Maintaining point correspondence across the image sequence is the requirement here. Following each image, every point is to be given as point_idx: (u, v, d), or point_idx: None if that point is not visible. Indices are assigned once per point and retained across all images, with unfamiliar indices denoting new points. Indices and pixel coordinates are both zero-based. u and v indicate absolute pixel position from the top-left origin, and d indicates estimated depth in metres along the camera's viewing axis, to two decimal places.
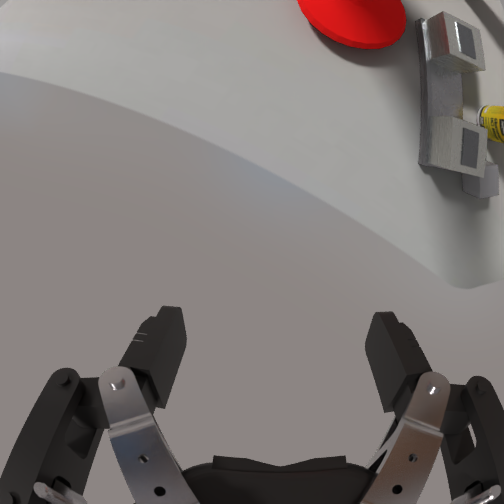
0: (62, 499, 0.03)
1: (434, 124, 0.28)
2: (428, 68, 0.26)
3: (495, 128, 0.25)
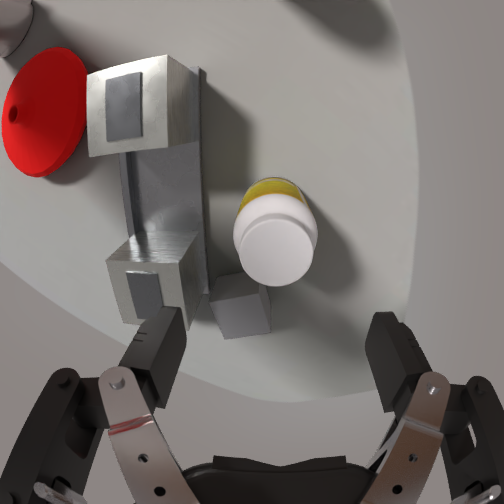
0: (62, 499, 0.03)
1: None
2: (122, 164, 0.24)
3: None
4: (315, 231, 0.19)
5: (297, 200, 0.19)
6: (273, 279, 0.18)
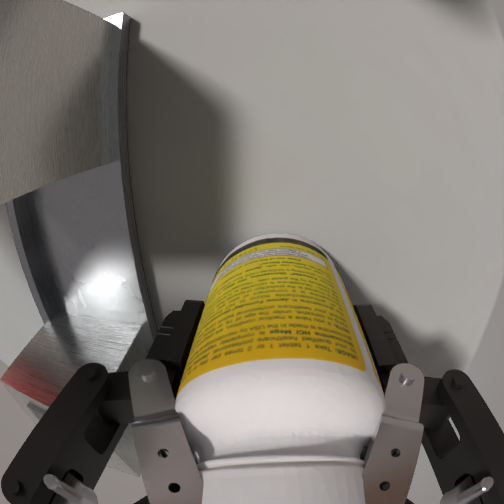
0: (71, 492, 0.04)
1: None
2: (10, 210, 0.11)
3: None
4: None
5: (352, 374, 0.05)
6: None
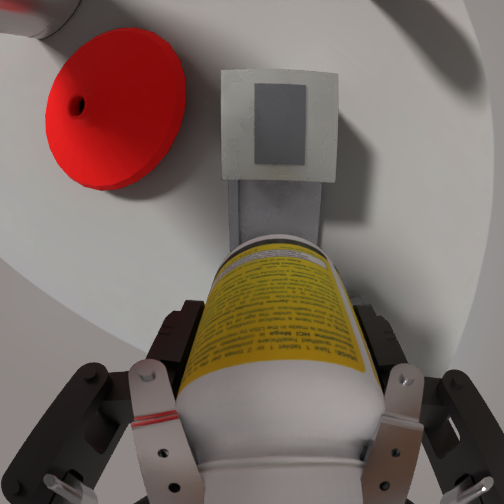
0: (71, 492, 0.04)
1: None
2: (232, 184, 0.23)
3: None
4: None
5: (352, 376, 0.05)
6: None
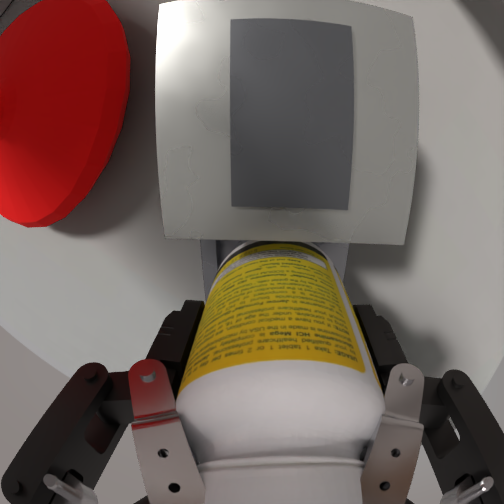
0: (72, 492, 0.04)
1: None
2: None
3: None
4: None
5: (352, 376, 0.05)
6: None
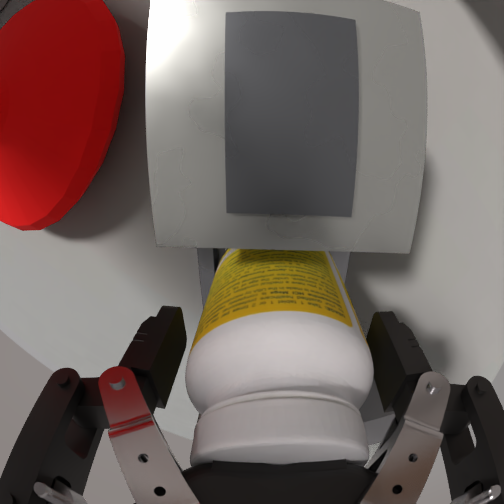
0: (62, 499, 0.03)
1: None
2: None
3: None
4: (370, 386, 0.07)
5: (340, 327, 0.07)
6: None
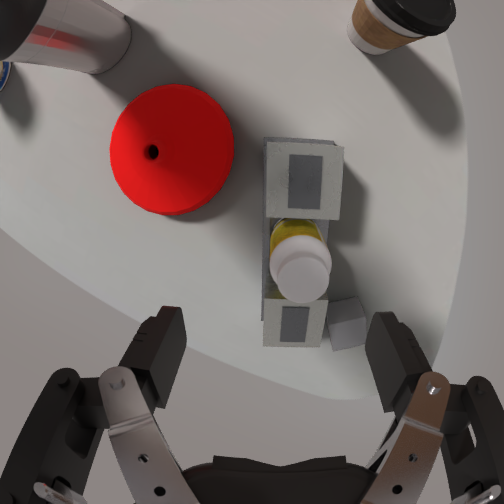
0: (62, 499, 0.03)
1: None
2: (266, 215, 0.32)
3: None
4: (330, 262, 0.26)
5: (318, 240, 0.26)
6: (300, 298, 0.25)
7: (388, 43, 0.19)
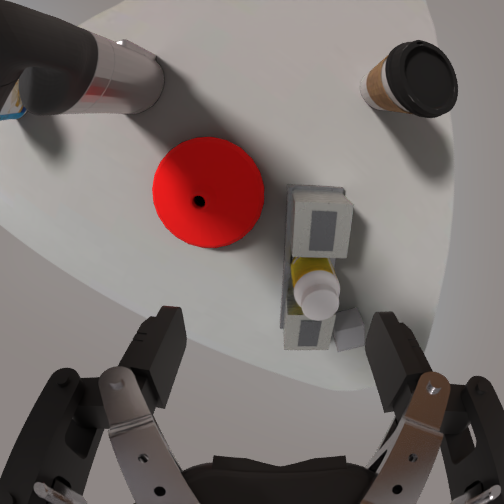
0: (62, 499, 0.03)
1: (285, 303, 0.43)
2: (287, 248, 0.40)
3: None
4: (339, 290, 0.34)
5: (330, 273, 0.34)
6: (318, 317, 0.33)
7: (395, 110, 0.27)
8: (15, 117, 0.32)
